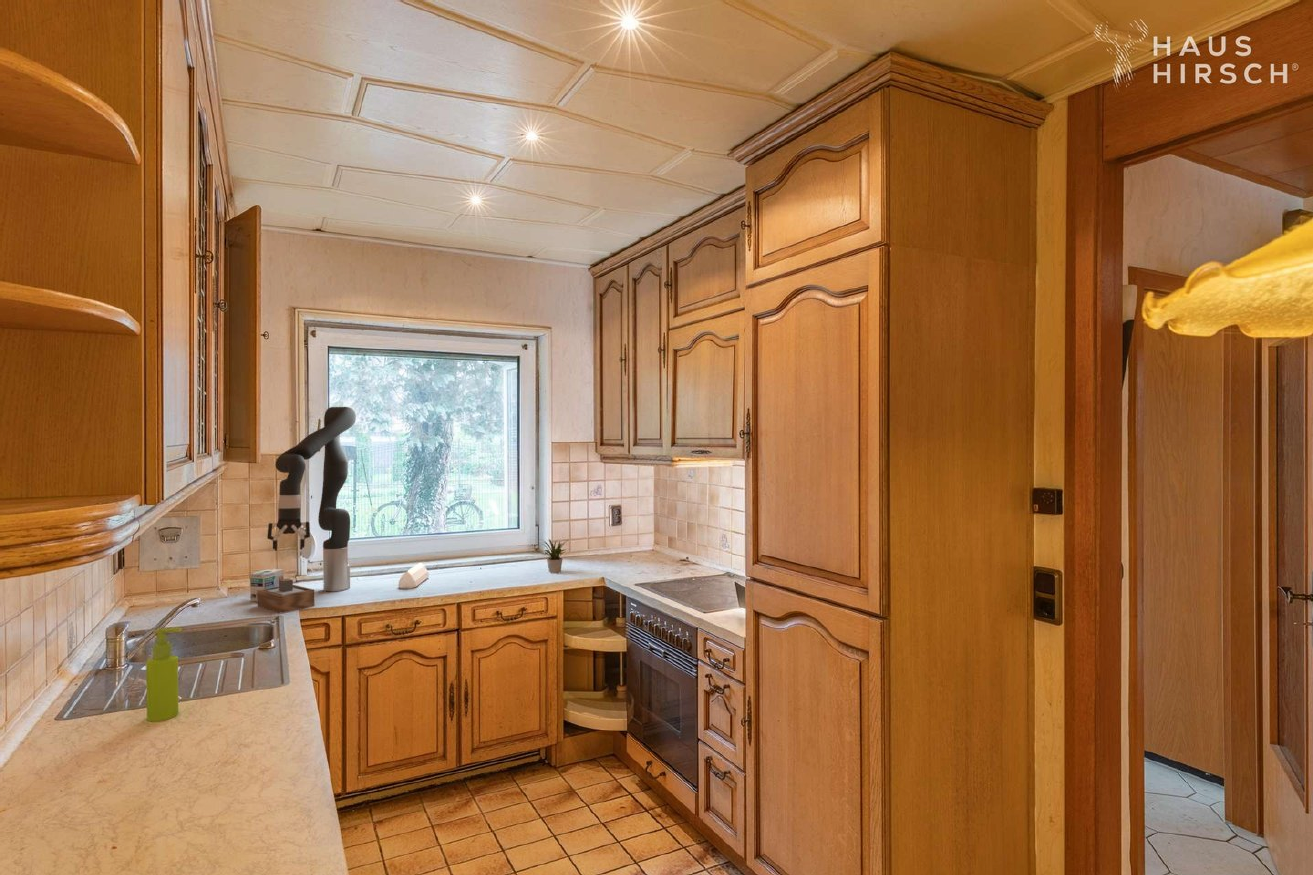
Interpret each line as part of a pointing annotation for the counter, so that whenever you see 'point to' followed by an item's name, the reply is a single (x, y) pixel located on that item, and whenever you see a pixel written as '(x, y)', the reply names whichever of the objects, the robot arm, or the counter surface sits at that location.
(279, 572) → the light bulb box
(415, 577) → the pale wooden prism
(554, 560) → the house plant
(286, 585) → the cover plate
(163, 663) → the soap dispenser
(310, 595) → the walnut box
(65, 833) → the counter surface
